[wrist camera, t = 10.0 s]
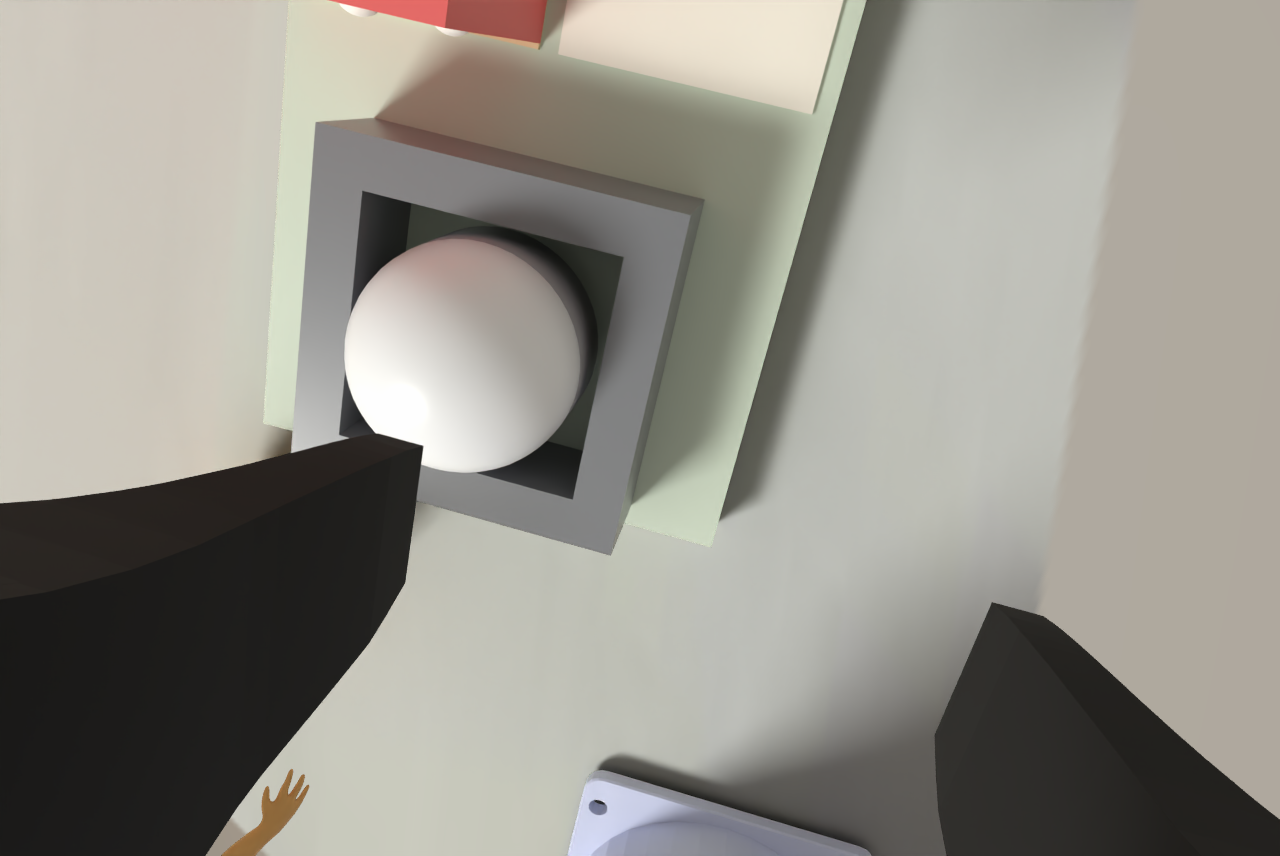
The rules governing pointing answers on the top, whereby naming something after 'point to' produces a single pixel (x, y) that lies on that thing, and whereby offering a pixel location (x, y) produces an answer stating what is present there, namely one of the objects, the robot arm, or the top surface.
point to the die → (463, 15)
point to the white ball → (471, 347)
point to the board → (611, 145)
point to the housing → (522, 200)
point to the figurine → (270, 818)
